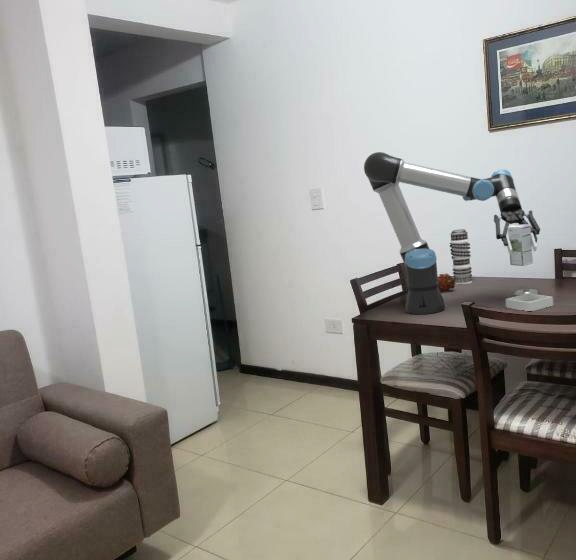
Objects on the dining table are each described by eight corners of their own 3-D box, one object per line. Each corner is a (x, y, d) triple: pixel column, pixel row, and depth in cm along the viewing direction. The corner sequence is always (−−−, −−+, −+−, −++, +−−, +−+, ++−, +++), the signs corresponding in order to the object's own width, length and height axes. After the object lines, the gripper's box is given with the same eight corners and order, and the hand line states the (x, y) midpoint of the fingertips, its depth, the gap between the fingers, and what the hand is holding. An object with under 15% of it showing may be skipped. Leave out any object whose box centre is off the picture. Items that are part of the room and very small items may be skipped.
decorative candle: (449, 284, 262) (444, 231, 259) (459, 280, 268) (455, 229, 265) (466, 285, 256) (462, 230, 252) (477, 281, 262) (472, 228, 258)
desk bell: (526, 301, 210) (526, 292, 210) (507, 298, 220) (506, 290, 219) (546, 296, 214) (545, 288, 214) (526, 293, 223) (525, 285, 223)
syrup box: (533, 263, 202) (531, 223, 200) (523, 266, 199) (520, 226, 197) (519, 262, 207) (517, 223, 205) (509, 265, 204) (506, 226, 202)
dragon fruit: (456, 295, 244) (433, 298, 253) (462, 281, 248) (439, 284, 257) (446, 282, 240) (423, 285, 250) (452, 268, 245) (430, 271, 254)
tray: (529, 311, 195) (529, 302, 194) (506, 307, 205) (505, 299, 204) (553, 305, 199) (552, 296, 198) (528, 301, 209) (528, 293, 208)
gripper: (536, 206, 213) (551, 253, 200) (480, 213, 217) (492, 260, 204) (538, 192, 207) (555, 240, 194) (481, 200, 211) (494, 247, 198)
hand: (523, 250), depth 199 cm, fingers closed on syrup box, 8 cm apart
